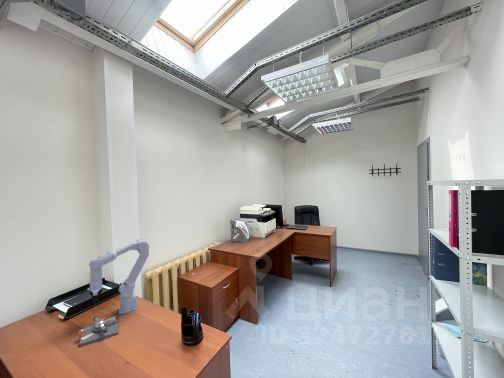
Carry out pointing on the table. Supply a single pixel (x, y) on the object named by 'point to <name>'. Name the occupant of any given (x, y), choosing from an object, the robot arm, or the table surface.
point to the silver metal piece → (98, 325)
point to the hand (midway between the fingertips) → (96, 302)
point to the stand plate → (99, 333)
